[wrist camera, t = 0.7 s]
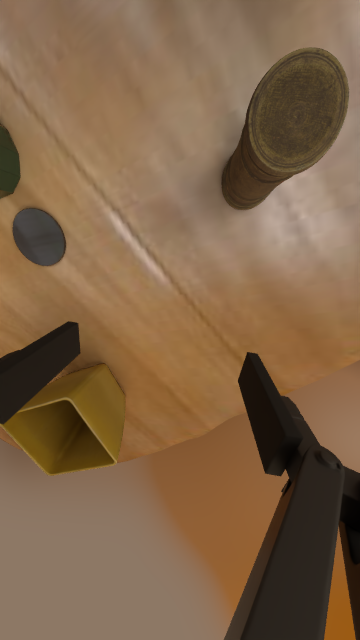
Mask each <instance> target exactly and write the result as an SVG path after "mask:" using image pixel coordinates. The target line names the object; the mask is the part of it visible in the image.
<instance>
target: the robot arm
mask: <svg viewBox="0 0 360 640" xmlns="http://www.w3.org/2000/svg"><path fill="white" fill-rule="evenodd" d="M79 354H80V342H79V328H78V323H75V322H69V321H68V322H67V323H65V324H63V325H62V326H60V327H58V328H57V329H55V330H53V331H52V332H50V333H48V334H47V335H45V336H43V337H42V338H40V339H38V340H37V341H35V342H33V343H32V344H30V345H28V346H27V347H25V348H23V349H22V350H17V351H15V352H12V353H9V354H7V355H5V356H3V357H2V358H0V424H3V425H4V424H5V423H6V422H7V421H8V420H9V419H10V418H11V417H12V416H13V415H15V414H16V413H17V412H18V411H19V410H20V409H21V408H22V407H23V406H24V405H25V404H26V403H27V402H28V401H30V400H31V399H32V398H33V397H34V396H35V395H36V394H37V393H38V392H39V391H40V390H41V389H42V388H43V387H45V386H46V385H47V384H48V383H49V382H50V381H51V380H52V379H53V378H54V377H55V376H56V375H57V374H59V373H60V372H61V371H62V370H63V369H64V368H65V367H66V366H67V365H68V364H69V363H70V362H71V361H72V360H74V359H75V358H76V357H77V356H78V355H79ZM238 383H239V387H240V390H241V393H242V397H243V400H244V404H245V407H246V410H247V414H248V417H249V420H250V423H251V427H252V431H253V434H254V437H255V441H256V444H257V447H258V451H259V454H260V458H261V461H262V464H263V468H264V471H265V473H266V474H271V475H277V476H281V475H282V474H283V472H284V470H285V469H286V471H287V473H288V476H289V479H288V481H287V483H286V484H285V486H284V488H283V489H282V491H281V492H283V493H282V496H281V498H280V501H279V503H278V506H277V508H276V511H275V513H274V516H273V518H272V521H271V523H270V526H269V528H268V531H267V533H266V536H265V538H264V541H263V543H262V546H261V548H260V551H259V553H258V556H257V559H256V561H255V563H254V566H253V568H252V571H251V573H250V576H249V578H248V581H247V583H246V586H245V589H244V591H243V594H242V596H241V598H240V601H239V603H238V606H237V609H236V611H235V613H234V616H233V618H232V621H231V623H230V626H229V628H228V631H227V633H226V636H225V638H224V640H324V634H325V626H326V618H327V611H328V603H329V594H330V587H331V579H332V571H333V564H334V555H335V548H336V540H337V533H338V532H337V531H338V525H339V531H340V537H341V544H342V551H343V557H344V564H345V570H346V576H347V584H348V590H349V597H350V604H351V610H352V616H353V624H354V630H355V637H356V640H360V473H358V472H356V471H354V470H351V469H349V468H347V467H345V466H343V465H342V463H341V462H340V460H339V459H338V458H337V457H336V456H335V455H334V454H333V453H332V452H330V451H329V450H328V449H326V448H324V447H322V446H320V444H319V442H318V441H317V439H316V437H315V436H314V434H313V433H312V431H311V429H310V428H309V426H308V424H307V423H306V421H305V420H304V418H303V416H302V415H301V414H300V411H299V410H298V408H297V407H296V405H295V404H294V403H293V402H292V401H291V400H290V399H289V398H288V397H285V396H280V394H279V392H278V390H277V388H276V387H275V385H274V383H273V381H272V379H271V377H270V376H269V374H268V372H267V370H266V368H265V367H264V365H263V363H262V361H261V359H260V357H259V356H258V354H256V353H250V352H247V355H246V358H245V361H244V364H243V367H242V370H241V373H240V376H239V379H238Z"/></svg>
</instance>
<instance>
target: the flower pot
mask: <svg viewBox="0 0 360 640" xmlns="http://www.w3.org/2000/svg"><path fill="white" fill-rule="evenodd" d="M124 421H125V395H124V393H123V392H122V390H121V388H120V387H119V385H118V383H117V382H116V380H115V378H114V377H113V375H112V373H111V372H110V370H109V368H108V367H107V365H106V364H99V365H96V366H93V367H90V368H86V369H83V370H80V371H77V372H73V373H70V374H68V375H66V376H63V377H61V378H59V379H57V380H55V381H53V382H52V383H50V384H48V385H46V386H45V387H43V388H42V389H41V390H40V391H39V392H38V393H37V394H36V395H35V396H34V397H33V398H32V399H31V400H30V401H28V402H27V403H26V404H25V405H24V406H23V407H22V408H21V409H20V410H19V411H18V412H17V413H16V414H15V415H13V416H12V417H11V418H10V419H9V420H8V421H7V422H6V423H5V424H4V425H3V424H0V426H1V427H2V428H3V429H4V430H5V431H6V432H7V433H8V434H9V435H10V436H11V437H12V438H13V440H14V441H15V442H16V443H17V444H18V445H19V446H20V447H21V448H22V449H23V450H24V451H25V452H26V453H27V455H28V456H29V457H30V458H31V459H32V460H33V461H34V462H35V463H36V464H37V465H38V466H39V467H40V468H41V469H42V470H43V472H45V473H46V474H47V475H50V476H54V475H59V474H65V473H71V472H77V471H83V470H89V469H95V468H101V467H107V466H113V465H115V464H116V463H117V459H118V455H119V451H120V446H121V441H122V435H123V429H124Z"/></svg>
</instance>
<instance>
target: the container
mask: <svg viewBox="0 0 360 640" xmlns="http://www.w3.org/2000/svg"><path fill="white" fill-rule="evenodd" d="M348 101H349V87H348V81H347V77H346V74H345V71H344V69H343V67H342V65H341V64H340V62H339V61H338V60H337V58H336V57H334V56H333V55H332V54H331V53H329V52H328V51H325V50H323V49H320V48H303V49H299V50H296V51H294V52H291V53H290V54H288V55H286V56H285V57H283V58H282V59H280V60H279V61H278V62H277V63H276V64H275V65H273V66H272V68H271V69H270V70H269V71H268V72H267V73H266V74H265V76H264V77H263V78H262V80H261V81H260V83H259V84H258V86H257V88H256V89H255V91H254V93H253V96H252V98H251V100H250V103H249V106H248V109H247V114H246V120H245V125H244V128H243V131H242V135H241V138H240V141H239V144H238V146H237V148H236V150H235V151H234V153H233V155H232V156H231V157H230V159H229V161H228V163H227V164H226V166H225V169H224V172H223V175H222V191H223V195H224V197H225V199H226V201H227V202H228V204H229V205H230V206H232V207H233V208H236V209H240V210H246V209H251V208H253V207H255V206H257V205H259V204H260V203H261V202H262V201H264V200H265V198H266V197H267V196H268V195H269V194H270V193H271V192H272V191H273V189H274V188H275V187H277V186H278V185H279V184H281V183H282V182H284V181H285V180H287V179H289V178H291V177H292V176H293V175H295V174H298V173H300V172H303V171H305V170H307V169H308V168H310V167H311V166H313V165H314V164H315V163H317V162H318V161H319V160H320V159H321V158H322V157H323V156H324V155H325V153H326V152H327V151H328V150H329V149H330V147H331V146H332V144H333V143H334V141H335V140H336V138H337V136H338V134H339V132H340V130H341V128H342V125H343V123H344V120H345V117H346V113H347V108H348Z"/></svg>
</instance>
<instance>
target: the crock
mask: <svg viewBox="0 0 360 640" xmlns="http://www.w3.org/2000/svg"><path fill="white" fill-rule="evenodd" d="M19 179H20V164H19V154H18V151H17V149H16V147H15V145H14V143H13V141H12V139H11V137H10V134H9V132H8V130H7V129H6V128H5V127H4V126H3V125H1V124H0V199H1V198H3V197H5V196H8V195H10V194H12V193H13V192H14V190H15V188H16V186H17V184H18V181H19Z"/></svg>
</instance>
